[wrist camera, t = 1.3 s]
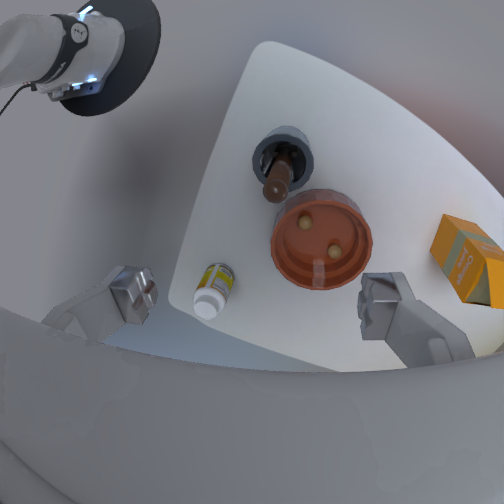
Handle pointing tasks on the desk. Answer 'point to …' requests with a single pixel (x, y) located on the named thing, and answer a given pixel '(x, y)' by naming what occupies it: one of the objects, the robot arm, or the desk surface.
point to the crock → (300, 164)
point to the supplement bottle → (213, 291)
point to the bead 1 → (305, 222)
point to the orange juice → (470, 262)
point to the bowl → (321, 240)
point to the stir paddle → (280, 174)
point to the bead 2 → (335, 251)
